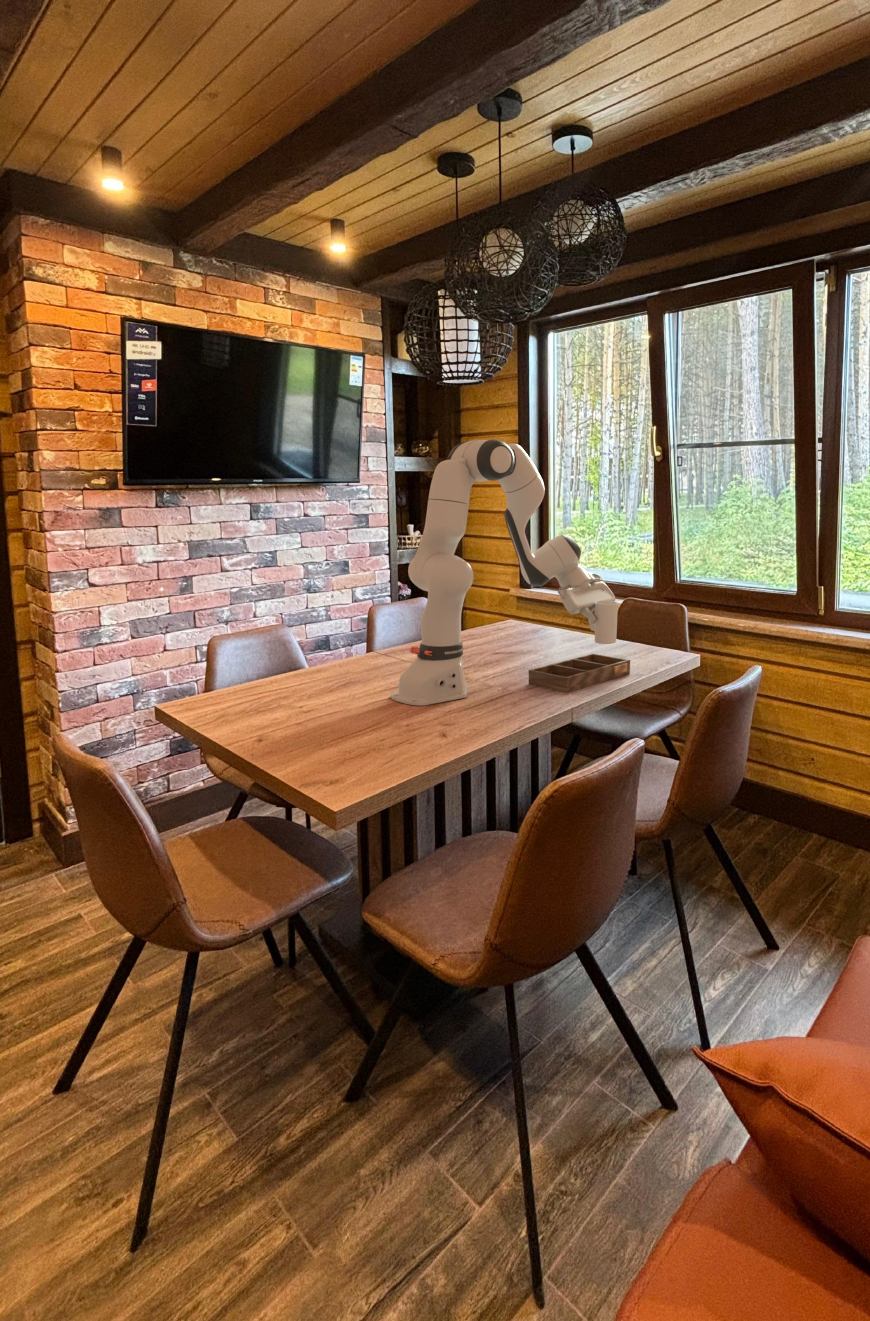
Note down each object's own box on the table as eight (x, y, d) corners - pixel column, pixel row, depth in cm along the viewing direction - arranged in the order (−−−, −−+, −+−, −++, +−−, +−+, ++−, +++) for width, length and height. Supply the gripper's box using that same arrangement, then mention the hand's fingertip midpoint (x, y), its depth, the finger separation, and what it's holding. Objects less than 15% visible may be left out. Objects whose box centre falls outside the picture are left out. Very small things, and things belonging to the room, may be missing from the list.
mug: (621, 641, 224) (622, 602, 221) (607, 645, 220) (607, 605, 217) (595, 637, 232) (596, 599, 229) (581, 640, 228) (581, 601, 225)
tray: (568, 693, 206) (568, 678, 206) (528, 684, 217) (528, 670, 216) (631, 673, 226) (631, 660, 225) (592, 666, 237) (592, 653, 236)
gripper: (561, 581, 220) (587, 617, 215) (603, 574, 233) (629, 608, 228) (549, 594, 224) (575, 630, 219) (591, 587, 238) (616, 621, 232)
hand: (603, 619), depth 224 cm, fingers closed on mug, 6 cm apart
